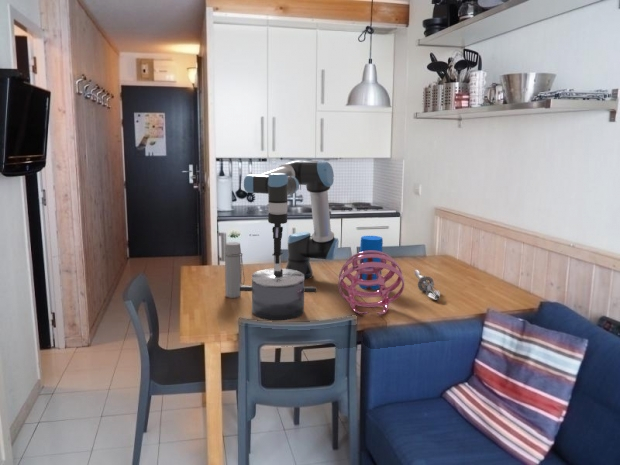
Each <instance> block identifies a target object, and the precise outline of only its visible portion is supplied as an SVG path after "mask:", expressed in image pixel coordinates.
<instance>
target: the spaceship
mask: <svg viewBox="0 0 620 465" xmlns="http://www.w3.org/2000/svg"><path fill="white" fill-rule="evenodd" d="M414 276H415V277H416V278H418V283H417V287H418V289H419V290H420V291H421V292H425V295H426V296H427V297H429V298H431V299H433V300H434V301H439V299H440V298H441V297H440V296H441V293H440V290H438V289H437V288H436V287H435V282H434V279H433V278H431V276H427V275H422V274H421V272H420V271H419V269H415V270H414ZM434 289H435V290H434Z"/></svg>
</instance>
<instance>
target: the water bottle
mask: <svg viewBox="0 0 620 465" xmlns="http://www.w3.org/2000/svg"><path fill="white" fill-rule="evenodd" d="M243 255H244V253H242V250H241V243H240V242H238V241H237V242H236V241H230V242H225V250H224V264H225V266H224V268H225V269H224V272H225V274H224V276H225V278H224V279H225V281H224V282H225V283H224V284H225V285H224V286H225V288H224V289H225V291H224V292H225V297H227V298H228V299H229V298H230V299H236V298H240V296H241V293H242V291H240V285H245V281H246V280H245V272H244V269H243V268H244V262H243ZM242 276H243V281H242ZM242 282H243V283H242Z"/></svg>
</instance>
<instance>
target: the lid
mask: <svg viewBox="0 0 620 465" xmlns="http://www.w3.org/2000/svg"><path fill="white" fill-rule="evenodd" d="M252 282H253V283H255V284H257V285H260V286H264V287H272V288H285V287H293V286H297V285H300V284H302V283H303V282H304V283H305V279H304V274H303V273H301V272H299V271H296V270H291V269H285V268H281V271H274V268H266V269H261V270H257V271H254V272H253V273H252V274H251V283H252Z"/></svg>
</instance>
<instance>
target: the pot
mask: <svg viewBox="0 0 620 465" xmlns="http://www.w3.org/2000/svg"><path fill="white" fill-rule="evenodd" d="M240 291H241V292H251V313H252V315H253V316H254V317H257V318H258V319H262V320H267V321H275V322H276V321H291V320H294V319H295V320H296V319H298V318H300V317H302V316H303V314H304V313H305V312H304V308H305V293H317V287H316V286H305V281H304V282H303V283H302V284H300V285H297V286H293V287H285V288H272V287H264V286H260V285H257V284H255V283H253V282H252V281H251V285H245V284H244V285H242V284H241V285H240Z"/></svg>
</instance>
